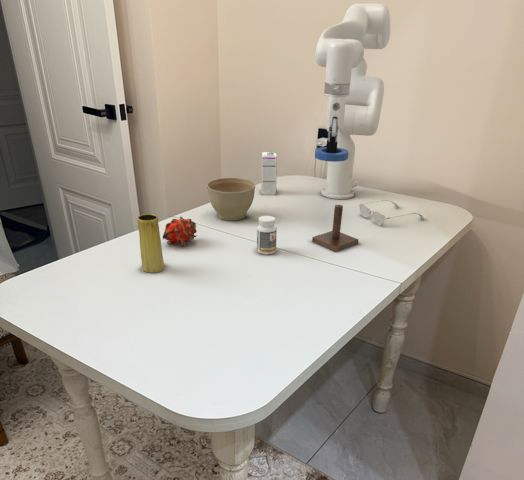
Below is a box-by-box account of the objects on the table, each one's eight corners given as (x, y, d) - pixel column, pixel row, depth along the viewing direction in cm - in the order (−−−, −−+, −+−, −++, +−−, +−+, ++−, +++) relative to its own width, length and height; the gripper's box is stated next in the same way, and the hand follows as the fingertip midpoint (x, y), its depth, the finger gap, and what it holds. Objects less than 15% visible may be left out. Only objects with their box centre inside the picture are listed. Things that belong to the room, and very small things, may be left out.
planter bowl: (198, 216, 169) (196, 184, 163) (230, 205, 179) (230, 174, 173) (232, 228, 160) (231, 194, 154) (264, 216, 171) (265, 184, 165)
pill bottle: (279, 251, 146) (281, 218, 140) (266, 256, 142) (267, 223, 137) (265, 245, 149) (266, 213, 143) (252, 251, 146) (252, 218, 140)
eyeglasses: (356, 213, 175) (358, 202, 172) (397, 207, 182) (398, 196, 179) (384, 228, 163) (386, 216, 161) (426, 220, 170) (428, 209, 168)
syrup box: (276, 194, 191) (277, 155, 182) (260, 194, 191) (261, 155, 183) (276, 190, 195) (277, 152, 187) (261, 190, 195) (261, 151, 187)
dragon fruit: (200, 243, 153) (168, 259, 148) (185, 222, 154) (152, 237, 149) (206, 228, 146) (173, 243, 140) (190, 206, 147) (156, 220, 141)
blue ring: (330, 151, 161) (331, 145, 160) (355, 158, 154) (355, 151, 153) (307, 156, 155) (307, 149, 154) (331, 163, 149) (332, 156, 148)
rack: (334, 234, 158) (337, 198, 151) (358, 244, 152) (363, 207, 145) (311, 241, 153) (314, 204, 146) (335, 252, 146) (340, 213, 140)
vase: (156, 261, 138) (150, 211, 130) (169, 268, 135) (164, 217, 127) (137, 267, 135) (130, 216, 127) (150, 275, 131) (144, 223, 123)
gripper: (351, 93, 141) (343, 161, 151) (348, 86, 154) (341, 149, 164) (324, 93, 141) (319, 160, 152) (324, 86, 154) (319, 148, 165)
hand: (331, 153), depth 158 cm, fingers closed on blue ring, 2 cm apart
